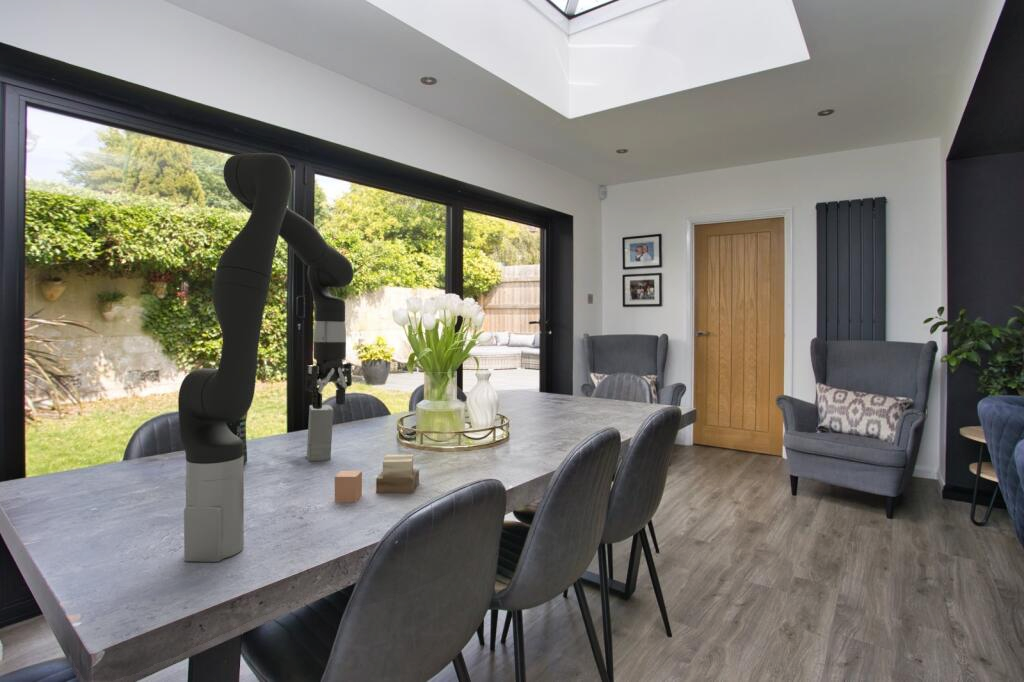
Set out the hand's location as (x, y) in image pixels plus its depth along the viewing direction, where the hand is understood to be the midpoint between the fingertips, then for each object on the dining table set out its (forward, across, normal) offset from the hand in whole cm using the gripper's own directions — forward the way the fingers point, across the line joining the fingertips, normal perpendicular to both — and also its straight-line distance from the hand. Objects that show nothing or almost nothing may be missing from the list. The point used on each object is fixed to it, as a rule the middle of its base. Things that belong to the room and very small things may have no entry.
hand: (329, 406), depth 135 cm
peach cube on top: (+21, -2, -7) cm, 23 cm away
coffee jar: (+21, +9, +42) cm, 47 cm away
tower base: (+22, +10, -14) cm, 27 cm away
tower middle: (+18, +10, -14) cm, 24 cm away
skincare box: (+21, +27, +25) cm, 42 cm away
